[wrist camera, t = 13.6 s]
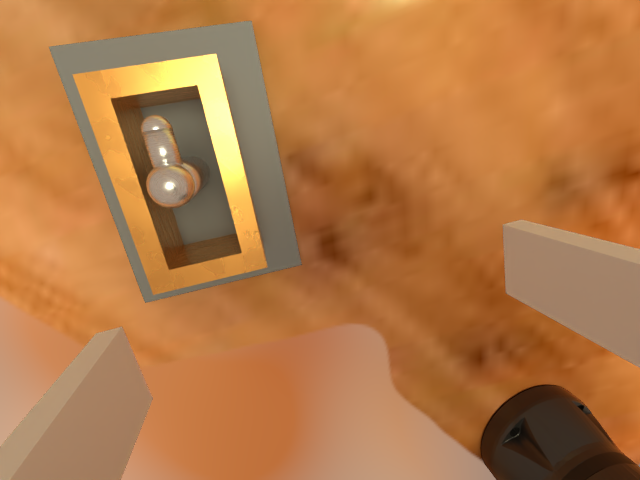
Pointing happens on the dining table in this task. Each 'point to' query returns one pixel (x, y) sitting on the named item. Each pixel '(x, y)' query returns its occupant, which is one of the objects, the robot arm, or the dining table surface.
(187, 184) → the hook
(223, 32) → the keeper plate
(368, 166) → the dining table surface
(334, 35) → the dining table surface
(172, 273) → the framed display niche
